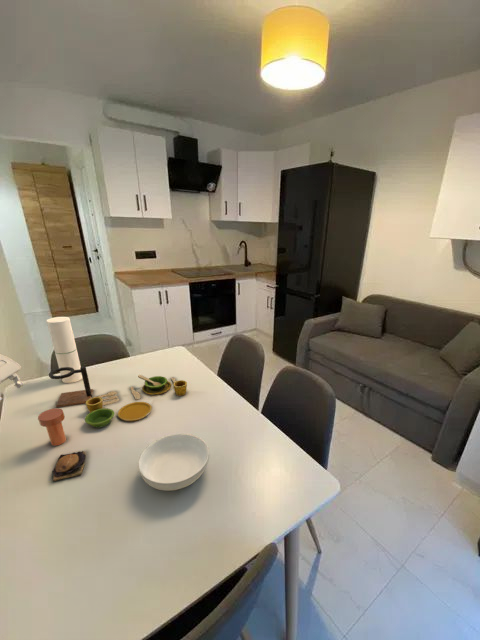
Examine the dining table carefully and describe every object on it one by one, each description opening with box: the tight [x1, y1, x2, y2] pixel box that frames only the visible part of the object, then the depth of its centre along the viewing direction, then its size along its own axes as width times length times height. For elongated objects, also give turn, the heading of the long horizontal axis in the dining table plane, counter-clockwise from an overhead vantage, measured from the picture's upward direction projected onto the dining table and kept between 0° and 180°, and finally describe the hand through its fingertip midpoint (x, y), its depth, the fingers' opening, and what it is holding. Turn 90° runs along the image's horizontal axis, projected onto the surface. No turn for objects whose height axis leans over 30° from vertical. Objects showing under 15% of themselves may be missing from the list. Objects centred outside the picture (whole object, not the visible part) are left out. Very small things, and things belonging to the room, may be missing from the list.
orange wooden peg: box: [37, 407, 67, 447], centre depth 99 cm, size 7×7×12 cm
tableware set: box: [84, 374, 188, 428], centre depth 124 cm, size 41×28×6 cm
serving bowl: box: [137, 433, 210, 492], centre depth 90 cm, size 21×21×7 cm
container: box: [46, 316, 83, 384], centre depth 135 cm, size 9×9×30 cm
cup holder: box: [48, 365, 94, 408], centre depth 122 cm, size 13×10×14 cm
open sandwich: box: [52, 450, 87, 482], centre depth 91 cm, size 11×8×4 cm
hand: (11, 393), depth 93 cm, fingers open, 8 cm apart
